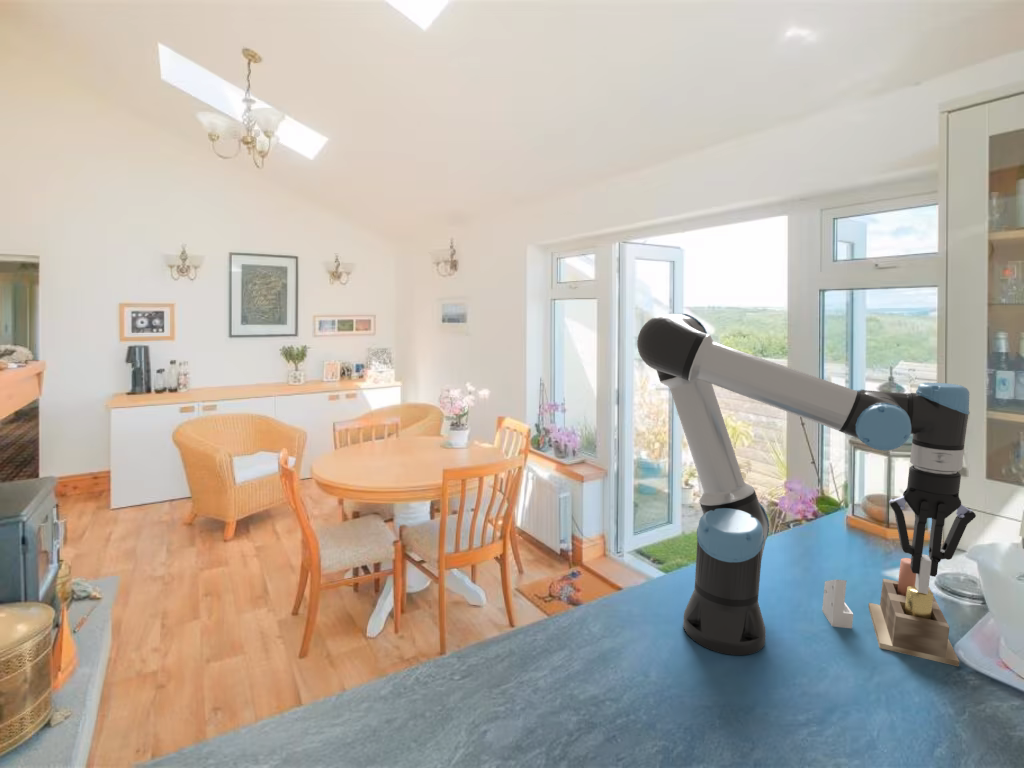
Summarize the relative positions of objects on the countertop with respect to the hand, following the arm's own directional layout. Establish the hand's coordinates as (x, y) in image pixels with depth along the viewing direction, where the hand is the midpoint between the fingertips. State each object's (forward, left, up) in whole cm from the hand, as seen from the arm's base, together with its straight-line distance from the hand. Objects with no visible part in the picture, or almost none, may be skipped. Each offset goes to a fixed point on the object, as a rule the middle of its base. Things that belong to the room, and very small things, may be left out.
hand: (921, 589), depth 104 cm
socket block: (0, +4, -11) cm, 12 cm away
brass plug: (0, 0, -8) cm, 8 cm away
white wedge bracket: (-13, +4, -12) cm, 17 cm away
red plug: (0, +8, -6) cm, 10 cm away
